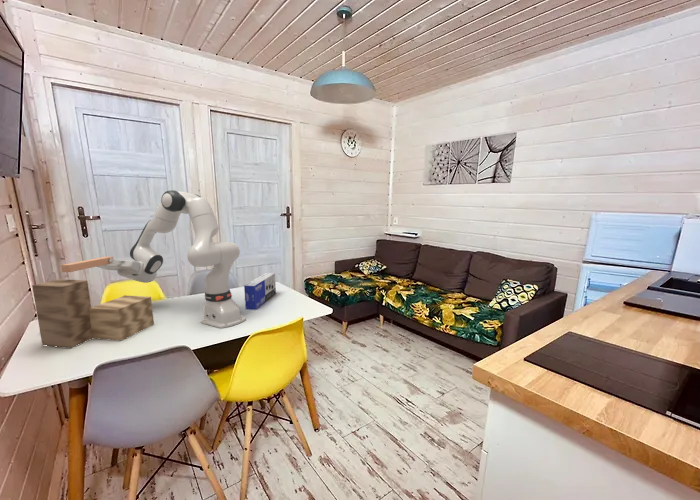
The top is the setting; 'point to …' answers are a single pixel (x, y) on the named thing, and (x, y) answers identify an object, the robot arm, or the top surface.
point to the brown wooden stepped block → (86, 314)
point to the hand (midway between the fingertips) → (104, 259)
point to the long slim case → (85, 264)
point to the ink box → (259, 290)
